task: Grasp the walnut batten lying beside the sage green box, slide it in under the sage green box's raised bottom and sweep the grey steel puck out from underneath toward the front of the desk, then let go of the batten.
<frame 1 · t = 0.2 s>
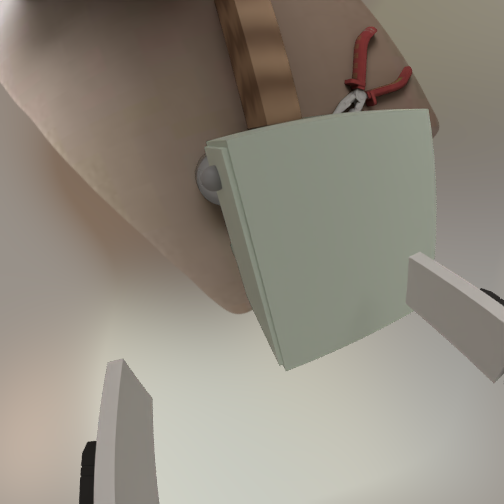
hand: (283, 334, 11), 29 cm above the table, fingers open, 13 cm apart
brown wooden block: (243, 52, 32), on the table
sage green box: (262, 184, 39), on the table
pliers: (358, 74, 36), on the table
token: (221, 173, 37), on the table
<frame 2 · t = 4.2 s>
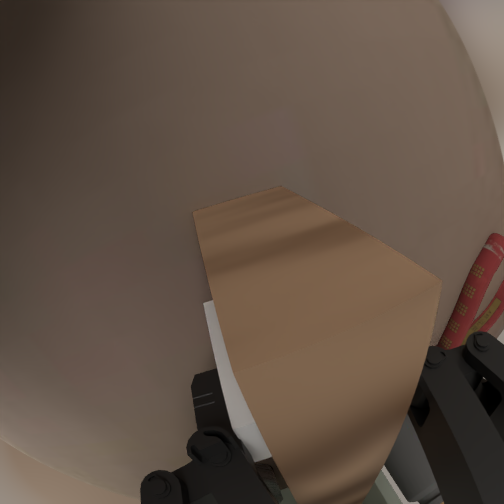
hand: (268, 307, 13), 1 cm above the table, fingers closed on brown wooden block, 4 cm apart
bottle: (388, 426, 27), on the table
brown wooden block: (280, 369, 17), on the table, touching gripper
sage green box: (289, 471, 25), on the table
pliers: (450, 319, 22), on the table
token: (240, 476, 23), on the table
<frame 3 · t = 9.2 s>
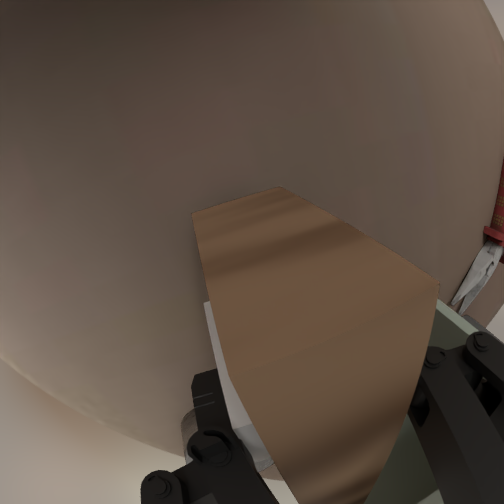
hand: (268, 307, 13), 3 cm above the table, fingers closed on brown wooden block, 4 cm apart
brown wooden block: (281, 369, 17), point 1 cm above the table, touching gripper
sage green box: (361, 389, 23), on the table
pliers: (495, 205, 20), on the table
token: (223, 423, 20), on the table
when the fingers open (3 cm above the table, at t = 10.3 s): brown wooden block drops 2 cm, on the table.
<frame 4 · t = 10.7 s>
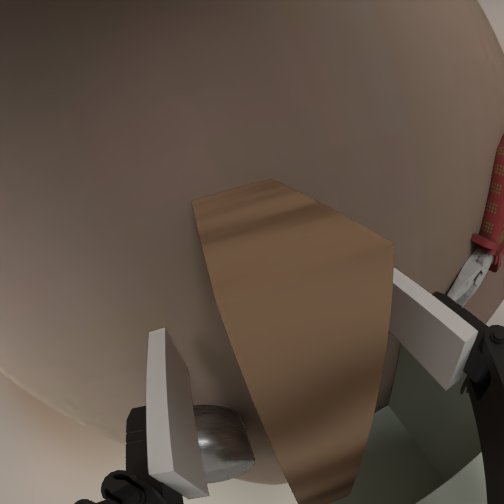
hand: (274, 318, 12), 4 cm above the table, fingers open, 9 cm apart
brown wooden block: (272, 352, 18), on the table
sage green box: (343, 397, 23), on the table
pliers: (485, 211, 20), on the table
token: (200, 428, 20), on the table
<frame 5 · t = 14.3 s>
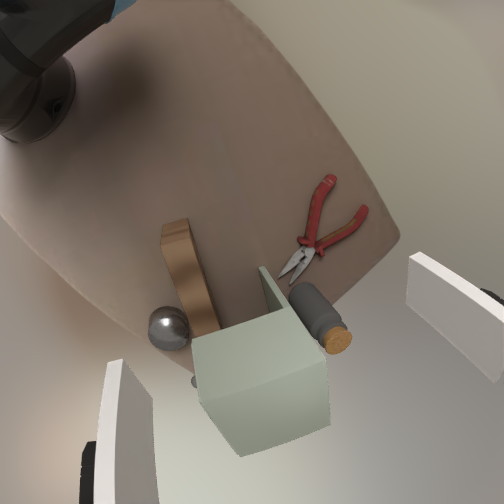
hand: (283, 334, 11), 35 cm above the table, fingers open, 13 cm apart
bottle: (302, 294, 55), on the table
brown wooden block: (194, 281, 48), on the table
sage green box: (236, 314, 53), on the table
pliers: (313, 224, 50), on the table
token: (168, 322, 50), on the table
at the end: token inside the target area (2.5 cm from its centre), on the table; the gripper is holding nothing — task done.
